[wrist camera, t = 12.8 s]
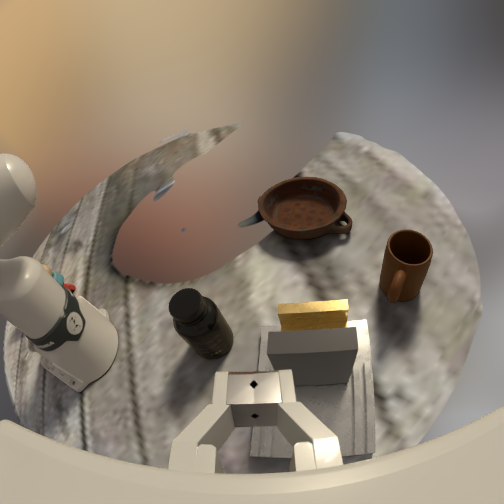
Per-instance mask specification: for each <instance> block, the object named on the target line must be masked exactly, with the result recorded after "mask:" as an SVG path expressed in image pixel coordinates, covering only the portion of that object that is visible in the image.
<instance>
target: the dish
mask: <svg viewBox="0 0 504 504" xmlns="http://www.w3.org/2000/svg"><path fill="white" fill-rule="evenodd" d="M346 203H347V200H346V197H345V195H344V193H343V191H342V190H341V189H340V188H339V187H338V186H336V185H335V184H333V183H331V182H329V181H327V180H324V179H321V178H317V177H298V178H292V179H288V180H285V181H282V182H280V183H278V184H276V185H274V186H273V187H271V188H269V189H268V190H267V191H266V192H265V193H264V194H263V195H262V196H261V197H259V199H258V207H259V212H260V214H261V216H262V217H263V219H264V220H265V221H266V222H268V224H269V225H270V226H271V227H272V228H273V229H274V230H275V231H276V232H278V233H279V234H281V235H283V236H286V237H289V238H293V239H312V238H316V237H320V236H322V235H325V234H327V233H329V232H333V233H338V234H346V233H348V232H350V231H351V228H352V219H351V218H350V217H349V216H348V215H347V214H346V213H345V212H344V211H345V209H346ZM339 221H345V222H346V223H347V224H348V225H346V226H340V225H338V224H337V222H339Z"/></svg>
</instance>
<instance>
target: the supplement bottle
mask: <svg viewBox="0 0 504 504" xmlns="http://www.w3.org/2000/svg"><path fill="white" fill-rule="evenodd" d="M169 312H170V314H171V315H172V316H173V324H174V328H175V330H176V331H177V333H178V334H179V335H180V336H181V337H182V338H183V339H184V340H185V341H186V342H187V343H188V344H189V345H190V346H191V347H192V348H193V349H194V350H195V351H196V352H197V353H198V354H199V355H200V356H202V357H203V358H207V359H216V358H219V357H222V356H223V355H225V354H226V353H227V352H228V351H229V350H230V348H231V346H232V344H233V333H232V330H231V328H230V327H229V325H228V323H227V322H226V320H225V319H224V317H223V315H222V314H221V312H220V310H219V309H218V307H217V306H216V304H215V303H214V302H213V301H212V300H211V299H209V298H207V297H204V296H201V294H200V293H199V292H198V291H197V290H195V289H192V288H191V289H190V288H188V289H187V288H186V289H182V290H180V291H179V292H177V293H176V294H174V296H173V297H172V299H171V300H170V302H169Z"/></svg>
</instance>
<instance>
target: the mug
mask: <svg viewBox="0 0 504 504" xmlns="http://www.w3.org/2000/svg"><path fill="white" fill-rule="evenodd" d="M432 254H433V249H432V245H431V243H430V242H429V240H428V239H427V238H426V237H425V236H424V235H422V234H421V233H419V232H416V231H413V230H399V231H397V232H395V233H393V234H392V235H391V236H390V237H389V239H388V242H387V246H386V249H385V254H384V259H383V264H382V270H381V275H380V286H381V288H382V290H383V292H384V293H385V294H386V295H387V299H388V301H389V302H390V303H395V302H397V301H408V300H411V299H412V298H414V297H415V296H416V295H417V294H418V292H419V291H420V289H421V286H422V284H423V281H424V279H425V276H426V274H427V271H428V269H429V266H430V263H431V258H432Z"/></svg>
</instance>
